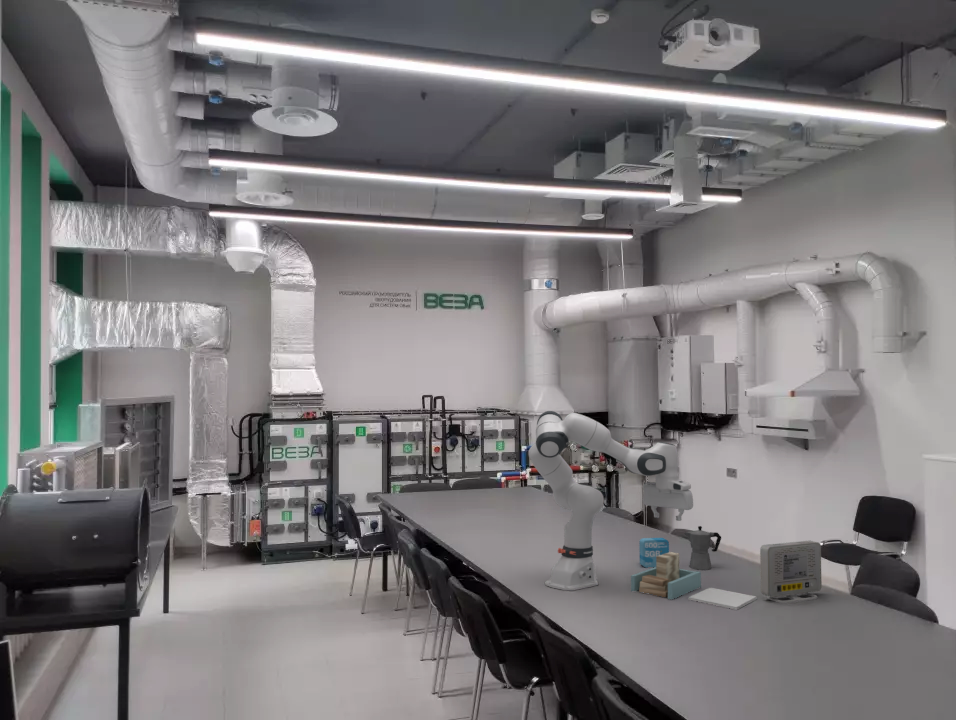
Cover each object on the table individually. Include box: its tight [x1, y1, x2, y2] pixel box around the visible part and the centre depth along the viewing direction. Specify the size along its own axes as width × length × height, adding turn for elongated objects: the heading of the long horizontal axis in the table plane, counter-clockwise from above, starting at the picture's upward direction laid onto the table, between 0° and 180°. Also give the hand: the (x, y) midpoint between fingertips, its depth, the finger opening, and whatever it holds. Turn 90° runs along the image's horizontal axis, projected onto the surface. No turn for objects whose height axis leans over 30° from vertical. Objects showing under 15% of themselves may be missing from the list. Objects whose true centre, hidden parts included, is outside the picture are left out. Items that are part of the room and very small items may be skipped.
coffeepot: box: [684, 525, 722, 571], centre depth 314 cm, size 15×9×18 cm, turn 72°
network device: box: [759, 540, 823, 604], centre depth 268 cm, size 26×9×20 cm, turn 111°
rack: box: [630, 567, 702, 601], centre depth 279 cm, size 24×17×6 cm
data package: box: [638, 537, 670, 569], centre depth 316 cm, size 12×4×12 cm, turn 99°
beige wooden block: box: [656, 551, 680, 582], centre depth 280 cm, size 11×4×13 cm, turn 137°
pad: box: [688, 587, 757, 611], centre depth 265 cm, size 18×18×1 cm
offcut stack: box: [638, 575, 669, 598], centre depth 273 cm, size 5×11×6 cm, turn 47°
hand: (667, 519), depth 281 cm, fingers open, 8 cm apart
